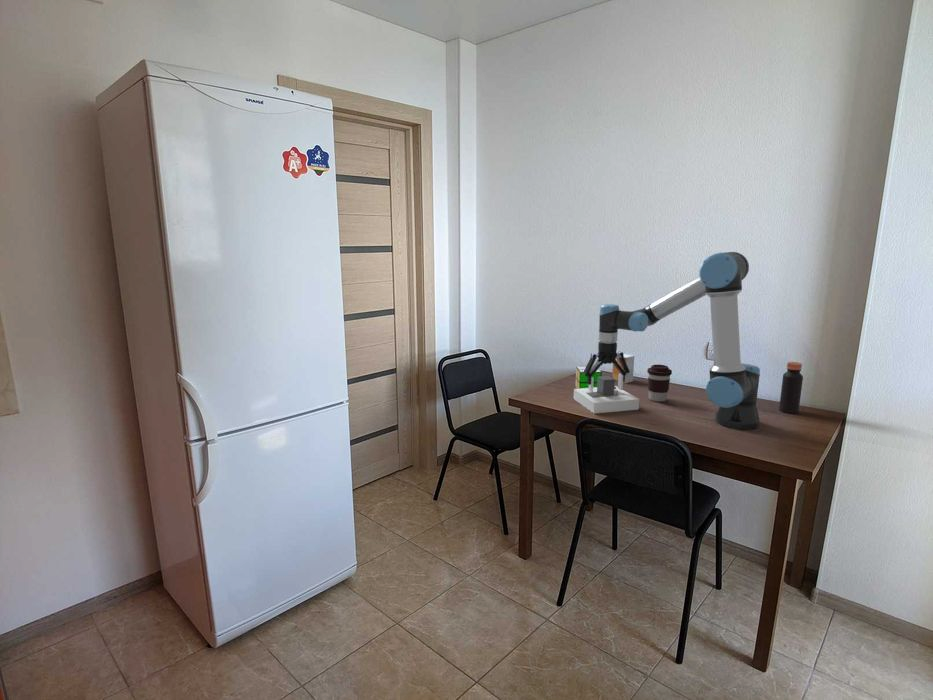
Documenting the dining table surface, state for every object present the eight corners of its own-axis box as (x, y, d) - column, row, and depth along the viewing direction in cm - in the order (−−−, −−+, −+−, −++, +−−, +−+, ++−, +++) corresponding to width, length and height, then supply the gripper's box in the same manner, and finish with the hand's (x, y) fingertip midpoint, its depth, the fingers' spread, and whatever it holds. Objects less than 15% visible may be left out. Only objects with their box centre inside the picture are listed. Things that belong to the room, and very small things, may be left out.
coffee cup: (666, 396, 233) (668, 363, 229) (672, 403, 223) (675, 369, 220) (643, 395, 234) (645, 363, 230) (648, 402, 224) (650, 369, 221)
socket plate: (638, 409, 216) (639, 397, 215) (593, 413, 212) (594, 401, 210) (615, 395, 235) (615, 384, 234) (573, 398, 231) (573, 387, 230)
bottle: (775, 409, 213) (780, 362, 209) (786, 407, 215) (792, 360, 211) (790, 415, 207) (796, 366, 202) (802, 412, 209) (808, 364, 205)
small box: (611, 380, 259) (612, 354, 256) (619, 377, 263) (621, 352, 260) (625, 383, 253) (626, 357, 250) (633, 381, 256) (634, 355, 254)
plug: (613, 400, 220) (614, 379, 218) (602, 401, 219) (603, 380, 217) (607, 396, 226) (608, 375, 224) (596, 397, 225) (597, 376, 223)
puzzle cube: (596, 386, 248) (597, 366, 246) (601, 393, 239) (602, 372, 236) (575, 387, 249) (576, 366, 247) (579, 393, 239) (579, 372, 237)
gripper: (630, 338, 223) (627, 385, 228) (576, 341, 218) (574, 390, 223) (639, 341, 216) (636, 390, 221) (583, 345, 211) (581, 395, 216)
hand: (605, 390), depth 222 cm, fingers open, 13 cm apart
